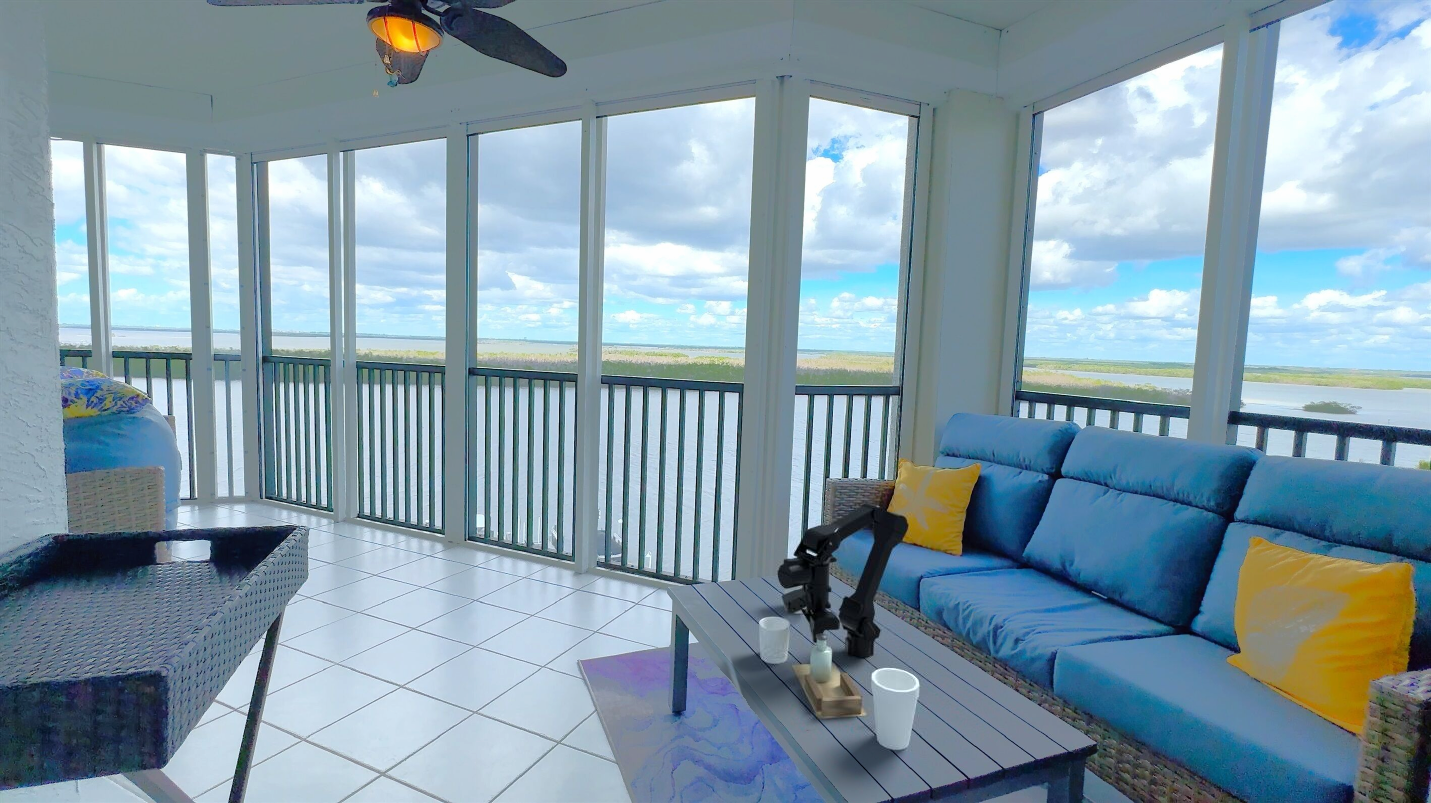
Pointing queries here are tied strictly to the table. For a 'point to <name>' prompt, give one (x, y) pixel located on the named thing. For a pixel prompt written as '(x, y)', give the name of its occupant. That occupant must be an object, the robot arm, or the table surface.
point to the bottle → (821, 660)
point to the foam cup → (894, 706)
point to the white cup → (774, 639)
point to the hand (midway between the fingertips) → (815, 642)
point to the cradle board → (831, 693)
